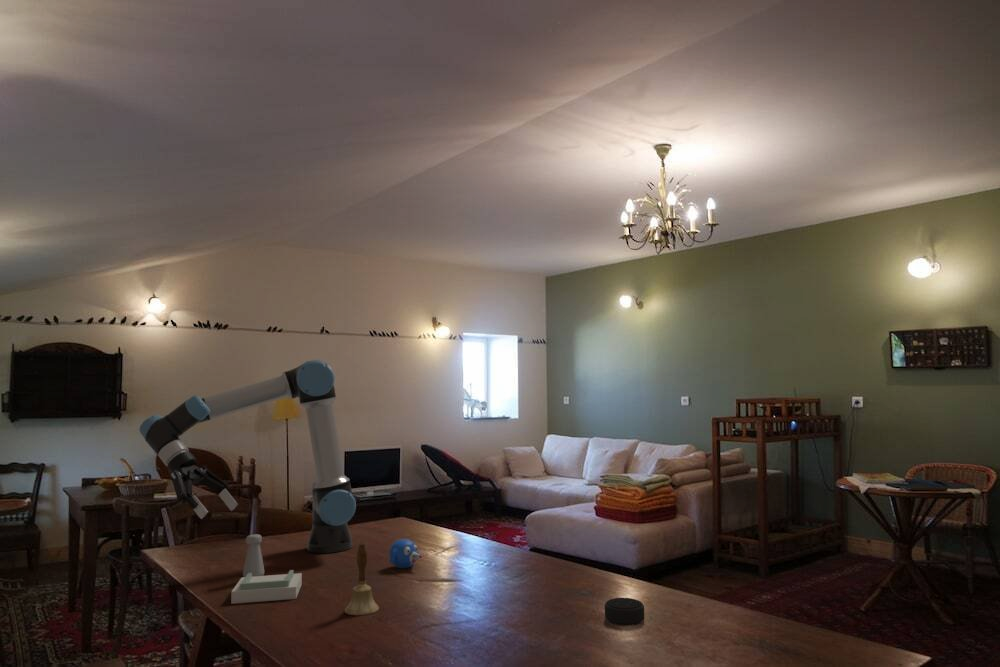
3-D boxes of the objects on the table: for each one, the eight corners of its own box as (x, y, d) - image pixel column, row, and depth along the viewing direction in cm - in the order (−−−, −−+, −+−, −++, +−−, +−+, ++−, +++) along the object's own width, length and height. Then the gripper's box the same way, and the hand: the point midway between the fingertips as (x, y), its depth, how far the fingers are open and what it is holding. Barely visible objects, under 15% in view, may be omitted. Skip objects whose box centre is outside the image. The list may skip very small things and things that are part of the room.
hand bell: (385, 606, 169) (384, 540, 170) (368, 617, 161) (367, 548, 162) (355, 603, 171) (355, 539, 173) (337, 614, 164) (337, 546, 165)
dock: (301, 584, 191) (301, 567, 191) (296, 598, 177) (296, 581, 177) (241, 588, 188) (241, 571, 188) (231, 603, 174) (231, 585, 174)
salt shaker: (246, 578, 197) (246, 533, 199) (266, 578, 198) (266, 532, 199) (240, 584, 192) (240, 537, 193) (261, 583, 192) (261, 536, 193)
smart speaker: (652, 624, 152) (651, 606, 152) (615, 629, 149) (615, 610, 149) (633, 612, 160) (632, 595, 160) (598, 616, 157) (598, 599, 158)
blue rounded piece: (407, 575, 196) (407, 546, 197) (379, 570, 204) (379, 541, 204) (436, 566, 206) (435, 538, 207) (408, 561, 213) (407, 534, 214)
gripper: (198, 463, 217) (238, 513, 211) (138, 472, 192) (182, 528, 187) (213, 446, 216) (253, 496, 211) (155, 453, 192) (199, 509, 187)
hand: (220, 511), depth 199 cm, fingers open, 13 cm apart
